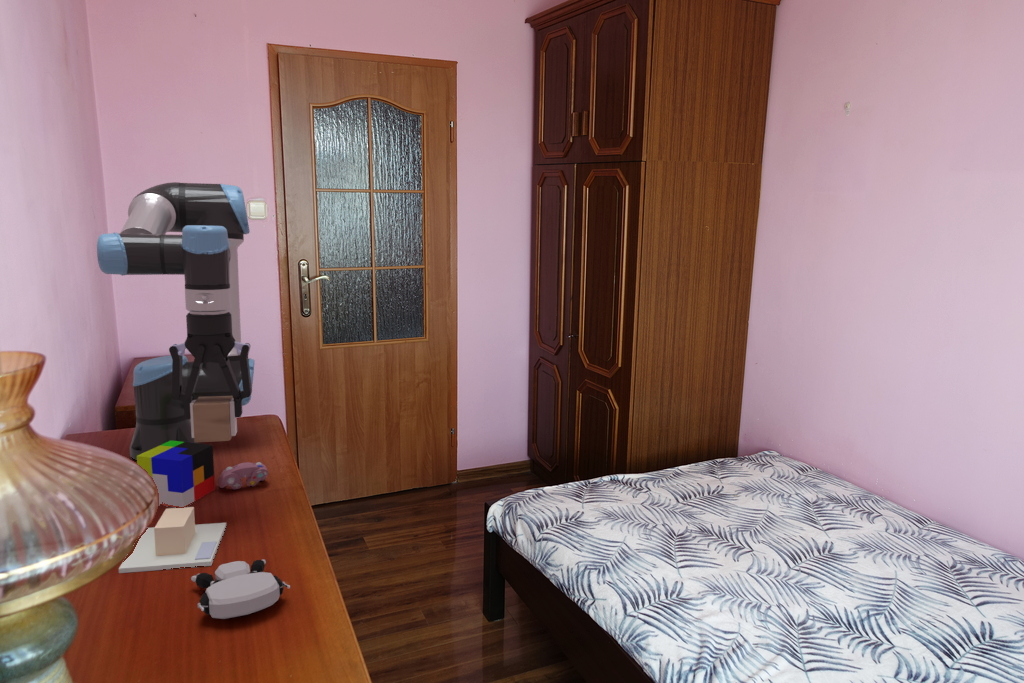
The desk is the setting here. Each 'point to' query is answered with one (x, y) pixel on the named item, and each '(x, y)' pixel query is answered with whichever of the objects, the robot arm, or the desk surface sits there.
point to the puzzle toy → (180, 471)
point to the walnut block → (212, 419)
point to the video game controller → (243, 475)
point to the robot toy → (238, 589)
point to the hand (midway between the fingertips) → (214, 434)
